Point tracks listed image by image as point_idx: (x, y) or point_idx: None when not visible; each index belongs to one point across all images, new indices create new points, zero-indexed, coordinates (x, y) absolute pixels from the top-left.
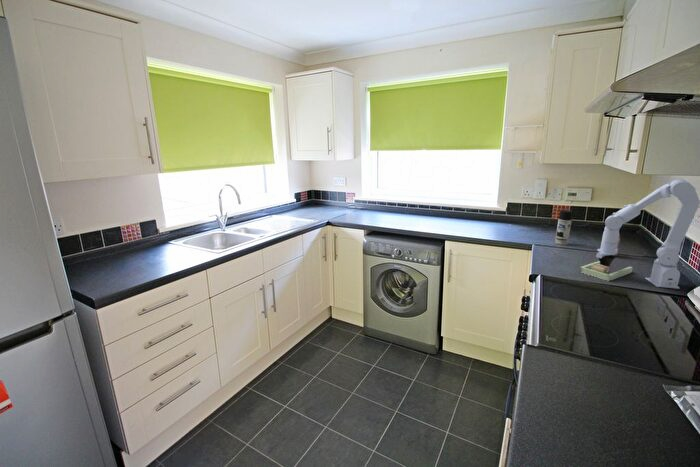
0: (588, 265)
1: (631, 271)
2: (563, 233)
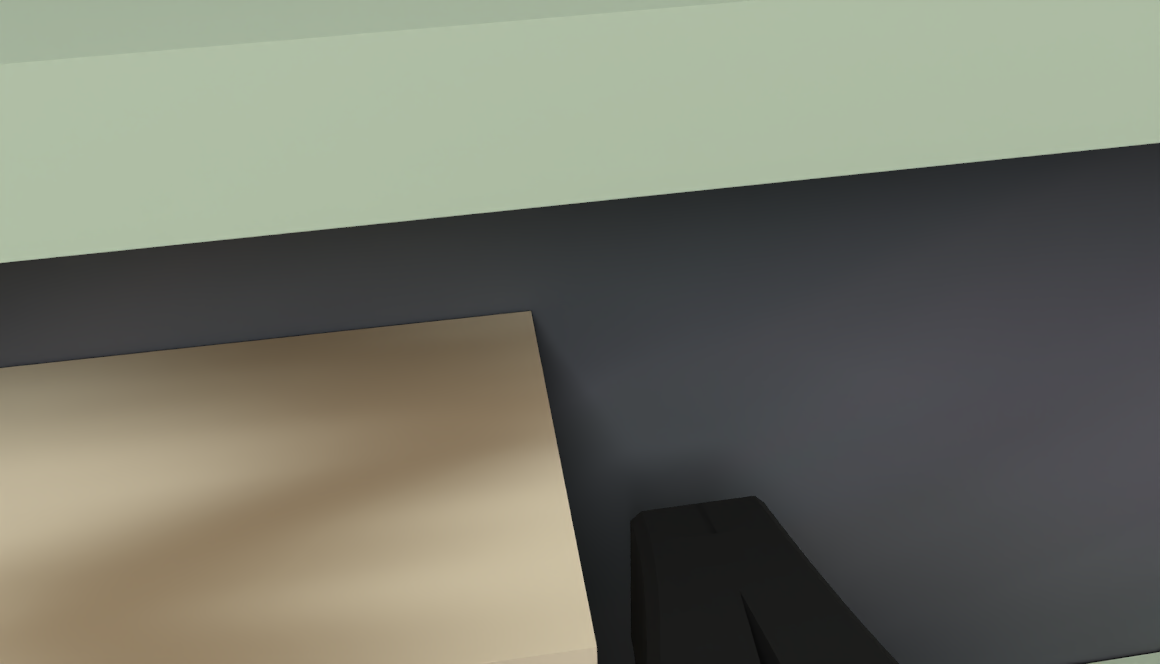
0: (309, 174)
1: None
2: None
